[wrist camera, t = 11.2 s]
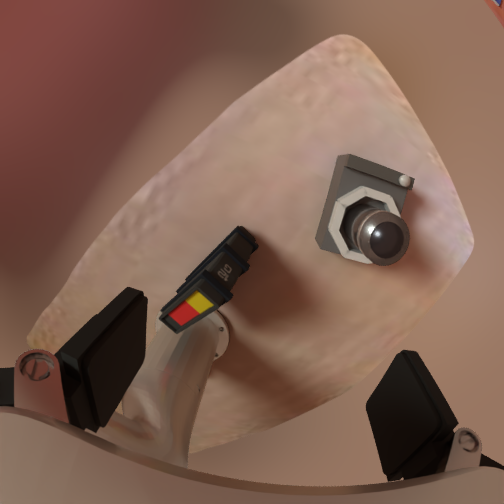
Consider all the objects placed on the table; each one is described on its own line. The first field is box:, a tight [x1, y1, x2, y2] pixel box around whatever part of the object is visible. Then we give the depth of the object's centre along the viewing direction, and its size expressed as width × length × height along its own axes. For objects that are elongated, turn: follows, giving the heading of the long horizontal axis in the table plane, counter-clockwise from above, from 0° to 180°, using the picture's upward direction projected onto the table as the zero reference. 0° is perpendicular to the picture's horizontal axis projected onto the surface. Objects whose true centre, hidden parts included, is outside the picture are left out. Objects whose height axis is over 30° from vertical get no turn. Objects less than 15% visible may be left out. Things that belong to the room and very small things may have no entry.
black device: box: [159, 226, 258, 334], centre depth 35 cm, size 4×13×15 cm, turn 135°
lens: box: [343, 204, 409, 266], centre depth 28 cm, size 5×5×8 cm
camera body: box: [315, 154, 415, 264], centre depth 33 cm, size 12×9×7 cm
